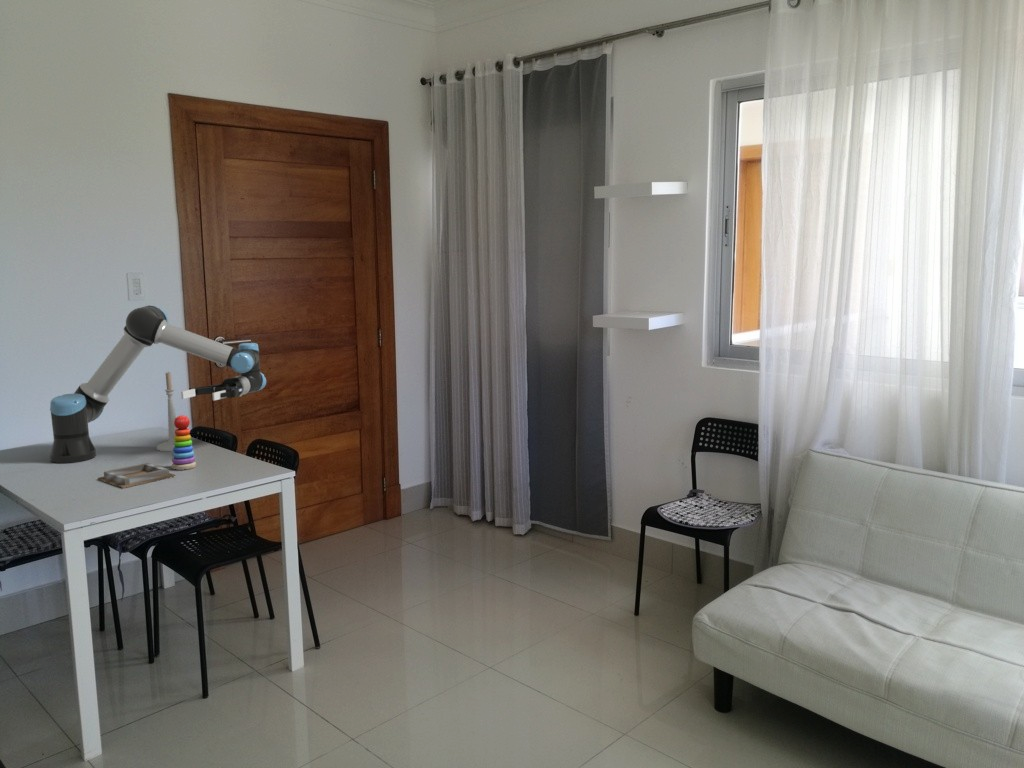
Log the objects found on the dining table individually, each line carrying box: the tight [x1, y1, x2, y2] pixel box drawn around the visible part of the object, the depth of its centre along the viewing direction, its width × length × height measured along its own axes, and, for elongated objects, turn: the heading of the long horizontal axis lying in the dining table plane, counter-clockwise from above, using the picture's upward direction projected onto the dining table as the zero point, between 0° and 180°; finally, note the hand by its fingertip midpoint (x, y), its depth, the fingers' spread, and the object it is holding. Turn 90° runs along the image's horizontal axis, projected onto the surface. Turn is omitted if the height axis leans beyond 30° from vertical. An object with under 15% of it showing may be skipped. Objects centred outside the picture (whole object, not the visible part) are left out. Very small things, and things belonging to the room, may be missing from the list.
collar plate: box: [97, 462, 177, 489], centre depth 281 cm, size 18×18×3 cm
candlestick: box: [156, 371, 177, 452], centre depth 323 cm, size 13×13×30 cm
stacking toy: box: [171, 414, 197, 471], centre depth 293 cm, size 8×8×19 cm
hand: (197, 396), depth 300 cm, fingers open, 13 cm apart
